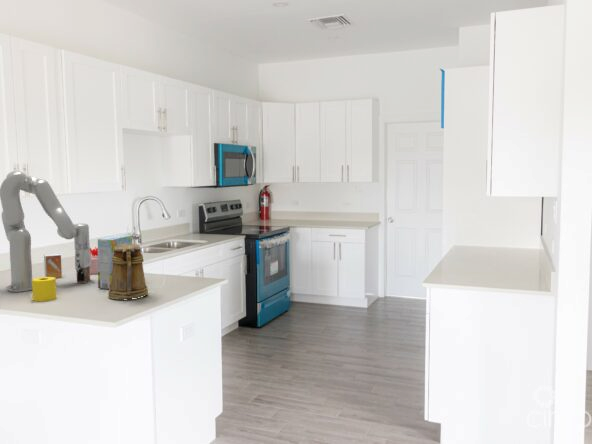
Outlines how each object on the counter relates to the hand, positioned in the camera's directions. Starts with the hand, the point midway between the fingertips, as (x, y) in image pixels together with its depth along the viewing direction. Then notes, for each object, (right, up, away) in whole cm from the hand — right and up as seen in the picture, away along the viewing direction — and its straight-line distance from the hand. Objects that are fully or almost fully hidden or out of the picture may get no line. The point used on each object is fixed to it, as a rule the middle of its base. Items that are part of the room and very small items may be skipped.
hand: (83, 279), depth 287 cm
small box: (-22, -1, +13) cm, 26 cm away
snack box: (+20, -2, -7) cm, 22 cm away
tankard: (+36, -5, -34) cm, 50 cm away
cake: (-4, +1, +31) cm, 31 cm away
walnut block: (0, -2, 0) cm, 2 cm away
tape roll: (-4, -5, -36) cm, 37 cm away
